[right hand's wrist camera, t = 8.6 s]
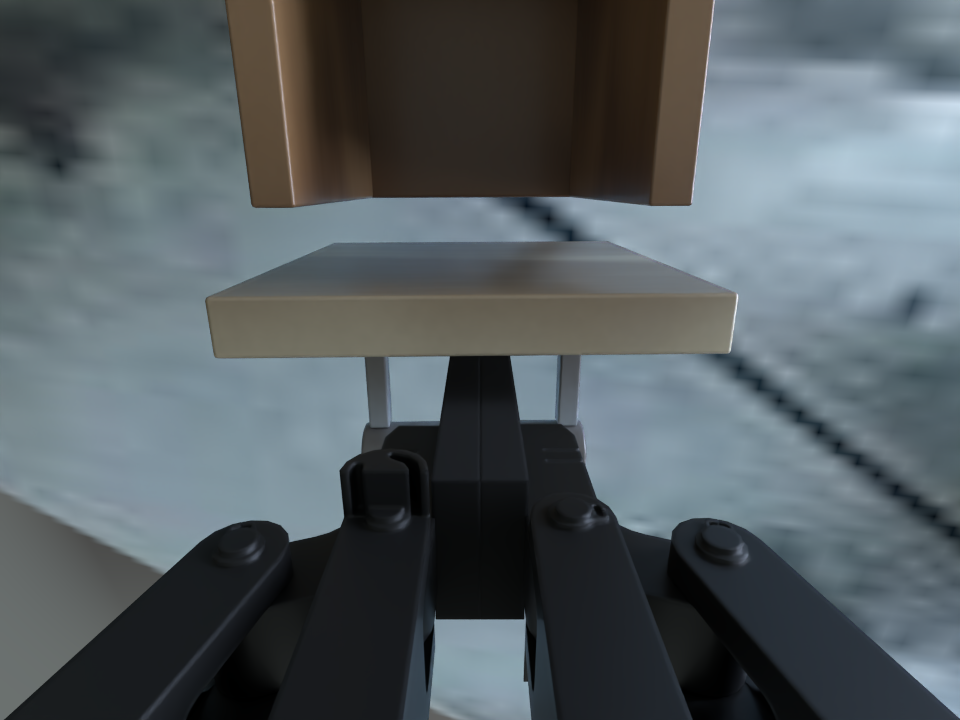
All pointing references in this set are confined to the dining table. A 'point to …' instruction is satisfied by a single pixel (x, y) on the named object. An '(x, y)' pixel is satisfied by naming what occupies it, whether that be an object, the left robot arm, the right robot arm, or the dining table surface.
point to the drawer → (470, 179)
